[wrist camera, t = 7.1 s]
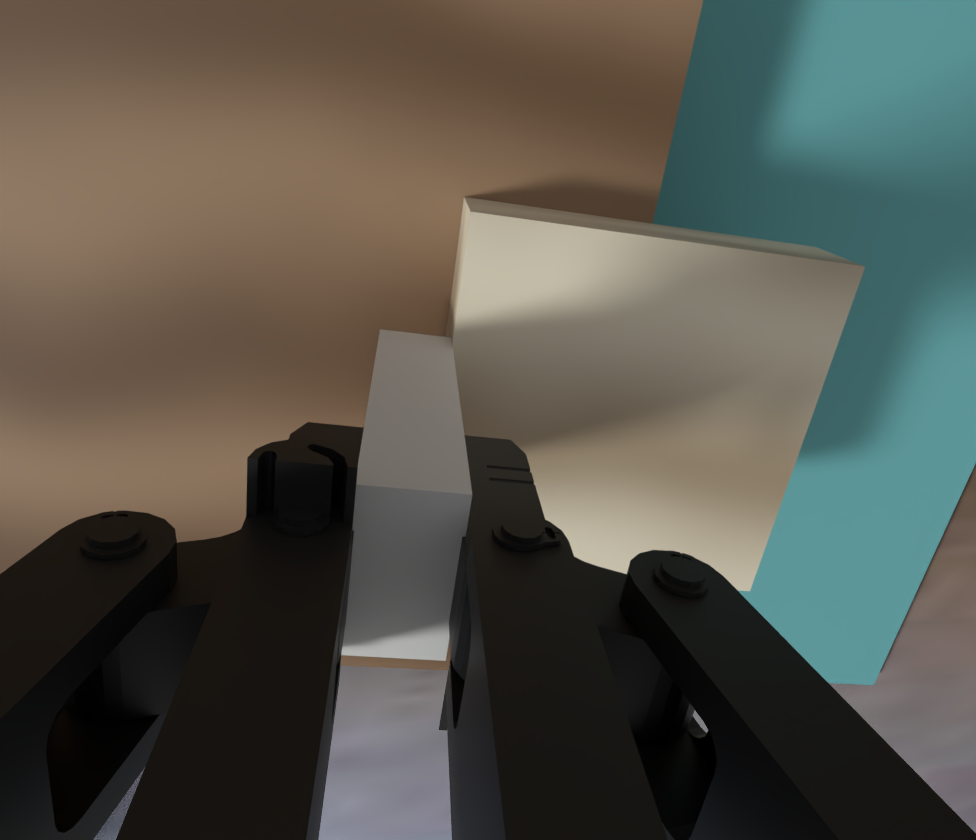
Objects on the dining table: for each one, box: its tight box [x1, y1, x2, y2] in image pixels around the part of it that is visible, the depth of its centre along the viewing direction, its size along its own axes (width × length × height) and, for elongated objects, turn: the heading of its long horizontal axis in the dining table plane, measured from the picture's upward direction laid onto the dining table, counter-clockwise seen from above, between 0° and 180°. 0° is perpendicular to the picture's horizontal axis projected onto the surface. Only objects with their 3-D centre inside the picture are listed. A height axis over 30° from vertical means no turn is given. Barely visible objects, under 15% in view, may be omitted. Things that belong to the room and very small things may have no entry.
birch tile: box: [446, 197, 865, 591], centre depth 17 cm, size 8×8×2 cm
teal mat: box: [653, 0, 976, 685], centre depth 22 cm, size 24×13×1 cm, turn 172°
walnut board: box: [0, 0, 703, 670], centre depth 18 cm, size 18×16×4 cm
